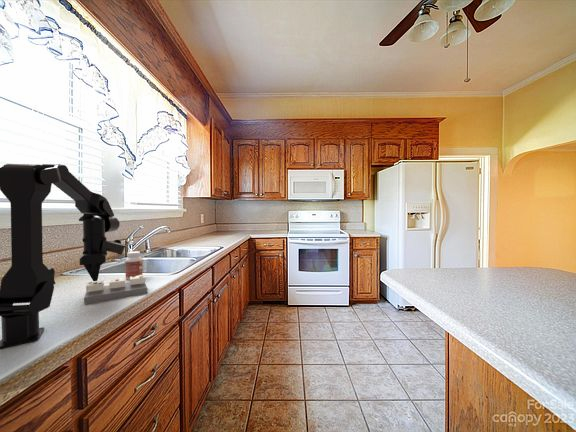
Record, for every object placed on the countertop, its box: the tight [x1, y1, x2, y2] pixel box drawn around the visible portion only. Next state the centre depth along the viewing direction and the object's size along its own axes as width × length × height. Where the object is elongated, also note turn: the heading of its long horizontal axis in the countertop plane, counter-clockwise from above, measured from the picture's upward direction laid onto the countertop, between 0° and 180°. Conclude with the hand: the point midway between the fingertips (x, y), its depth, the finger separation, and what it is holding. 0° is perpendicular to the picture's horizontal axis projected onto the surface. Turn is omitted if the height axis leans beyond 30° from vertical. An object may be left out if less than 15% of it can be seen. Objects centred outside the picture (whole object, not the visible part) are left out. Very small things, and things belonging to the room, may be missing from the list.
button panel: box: [83, 281, 148, 305], centre depth 85 cm, size 11×17×2 cm, turn 125°
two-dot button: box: [129, 274, 146, 285], centre depth 89 cm, size 4×4×2 cm
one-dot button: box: [108, 277, 126, 289], centre depth 85 cm, size 4×4×2 cm
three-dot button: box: [85, 280, 105, 293], centre depth 82 cm, size 4×4×2 cm
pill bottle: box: [124, 250, 144, 281], centre depth 105 cm, size 6×6×11 cm
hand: (95, 280), depth 82 cm, fingers closed
